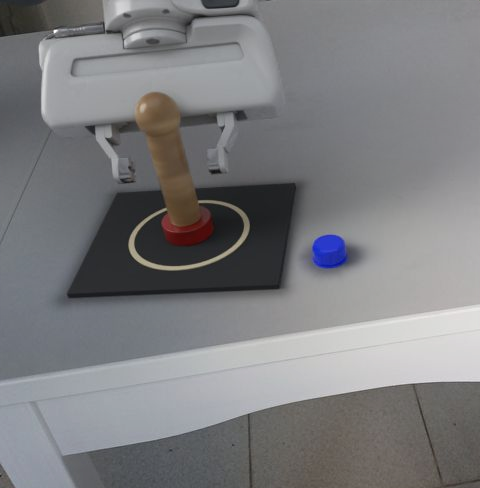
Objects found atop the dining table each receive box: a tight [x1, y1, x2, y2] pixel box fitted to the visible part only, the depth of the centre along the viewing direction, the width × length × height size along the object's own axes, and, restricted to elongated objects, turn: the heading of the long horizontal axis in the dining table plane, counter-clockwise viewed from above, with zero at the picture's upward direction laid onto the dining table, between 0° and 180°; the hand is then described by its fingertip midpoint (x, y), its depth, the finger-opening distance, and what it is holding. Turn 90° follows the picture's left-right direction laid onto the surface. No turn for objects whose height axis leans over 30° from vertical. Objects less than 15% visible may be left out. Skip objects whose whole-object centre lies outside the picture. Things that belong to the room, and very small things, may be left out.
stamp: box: [134, 92, 214, 246], centre depth 61 cm, size 4×4×13 cm
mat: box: [66, 182, 297, 299], centre depth 66 cm, size 18×16×1 cm
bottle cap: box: [311, 233, 348, 269], centre depth 62 cm, size 3×3×2 cm
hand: (171, 177), depth 61 cm, fingers open, 7 cm apart
